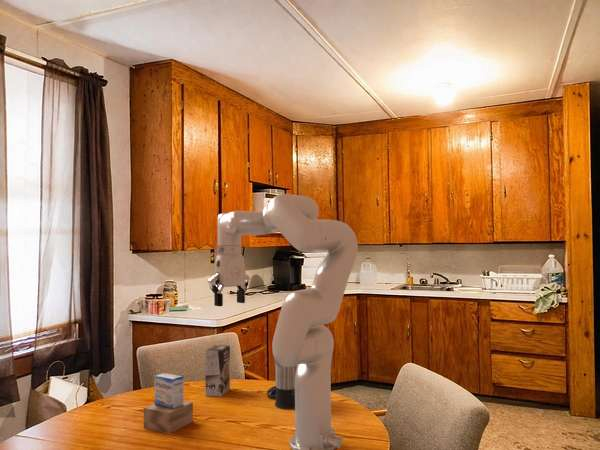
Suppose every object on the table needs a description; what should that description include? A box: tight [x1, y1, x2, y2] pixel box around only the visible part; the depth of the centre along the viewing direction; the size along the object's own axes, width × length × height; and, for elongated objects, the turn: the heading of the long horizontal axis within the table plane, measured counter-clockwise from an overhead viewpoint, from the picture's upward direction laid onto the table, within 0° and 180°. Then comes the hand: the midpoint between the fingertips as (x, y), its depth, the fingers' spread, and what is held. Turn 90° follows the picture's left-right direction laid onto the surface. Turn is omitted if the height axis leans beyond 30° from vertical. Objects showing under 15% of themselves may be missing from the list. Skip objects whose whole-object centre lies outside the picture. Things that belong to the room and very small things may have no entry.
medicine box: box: [153, 372, 185, 409], centre depth 141 cm, size 8×4×9 cm, turn 60°
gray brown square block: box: [143, 400, 194, 434], centre depth 140 cm, size 10×10×6 cm
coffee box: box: [204, 344, 231, 397], centre depth 171 cm, size 9×6×16 cm
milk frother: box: [266, 359, 298, 410], centre depth 160 cm, size 14×16×15 cm
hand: (230, 304), depth 152 cm, fingers open, 9 cm apart
